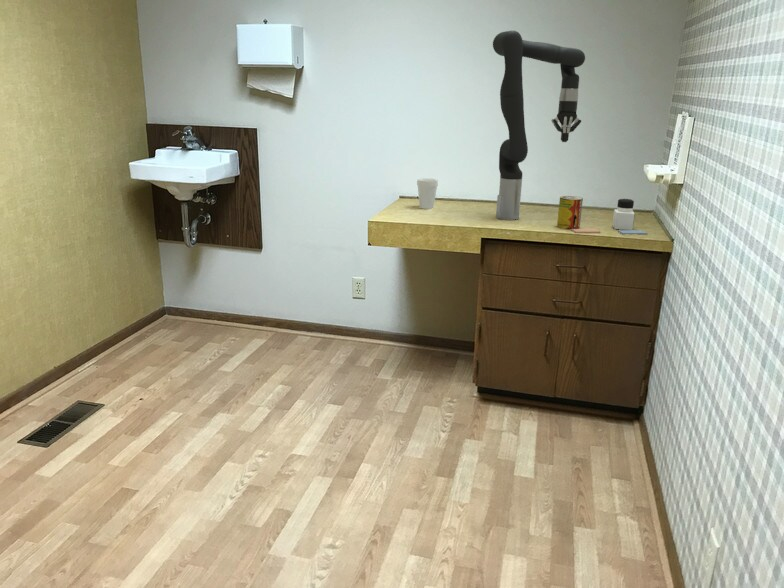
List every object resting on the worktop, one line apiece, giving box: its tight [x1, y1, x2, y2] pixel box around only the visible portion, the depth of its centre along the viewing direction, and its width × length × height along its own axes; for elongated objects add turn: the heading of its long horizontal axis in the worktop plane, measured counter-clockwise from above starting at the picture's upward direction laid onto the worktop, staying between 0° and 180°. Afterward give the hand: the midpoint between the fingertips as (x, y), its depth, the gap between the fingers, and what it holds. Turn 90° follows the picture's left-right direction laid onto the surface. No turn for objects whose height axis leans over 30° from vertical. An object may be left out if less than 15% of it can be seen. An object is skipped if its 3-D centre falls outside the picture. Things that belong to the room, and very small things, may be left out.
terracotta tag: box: [570, 228, 601, 234], centre depth 254 cm, size 10×5×1 cm, turn 96°
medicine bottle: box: [612, 198, 636, 230], centre depth 260 cm, size 7×7×12 cm
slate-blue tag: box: [617, 229, 649, 235], centre depth 253 cm, size 10×5×1 cm, turn 96°
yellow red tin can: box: [556, 195, 584, 230], centre depth 261 cm, size 9×9×12 cm
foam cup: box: [416, 177, 439, 210], centre depth 295 cm, size 10×9×13 cm
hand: (564, 141), depth 276 cm, fingers closed
